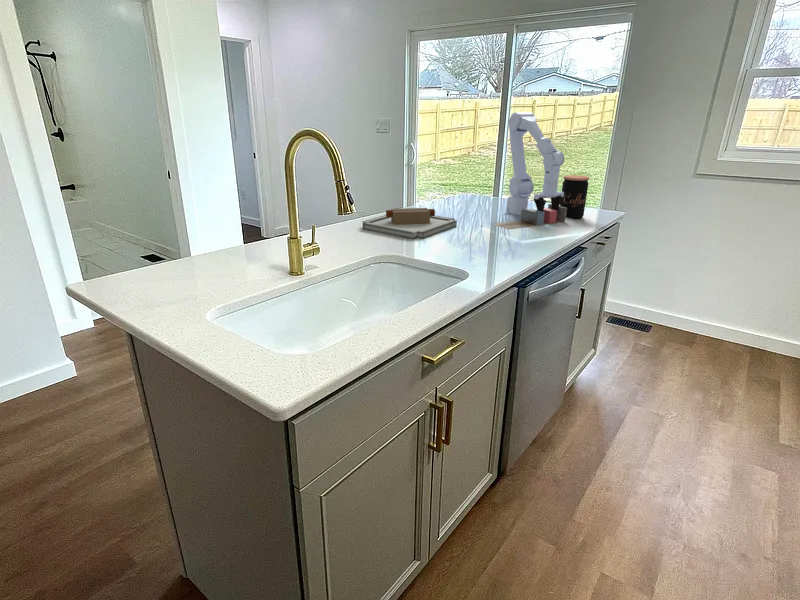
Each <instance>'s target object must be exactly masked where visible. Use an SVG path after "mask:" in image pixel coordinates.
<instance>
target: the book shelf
mask: <svg viewBox="0 0 800 600" xmlns="http://www.w3.org/2000/svg"><path fill="white" fill-rule="evenodd" d="M547 208H549V209H551V203H548V206H547ZM566 212H567V208H565V207H561V206H560V205H559V207H558V209H557V216H556V223H547V222H543V224H540V225H533V224H530V223H527V222H523V221H521V220H517V221H516V220H515V221H508V222H500V223H499V222H498V223H494V225H495V226H496V227H497V226H498V227H501V228H503V229H505V230H506V229H507V230H515V229H520V228H522V229H523V228H531V227H537V226H545V225H546V226H547V225H553V224H554V225H555V224H561V223H566V220H567V219H566V218H567V217H566Z"/></svg>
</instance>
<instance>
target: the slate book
mask: <svg viewBox="0 0 800 600" xmlns="http://www.w3.org/2000/svg"><path fill="white" fill-rule="evenodd" d="M527 209H528V210H532V211H535V212H538V218H537V225H539V226H541V225H540V224H543V222H544V214H545V212H542V211H539V210H537V209H536V208H535V209H534V208H527Z"/></svg>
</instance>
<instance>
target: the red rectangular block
mask: <svg viewBox="0 0 800 600" xmlns="http://www.w3.org/2000/svg"><path fill="white" fill-rule="evenodd" d="M543 212H545V214H544V222H547V223H554V224H557V223H556V216H557V211H556V210H553V209H549V208H548V207H545V206H544V210H543Z"/></svg>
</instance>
